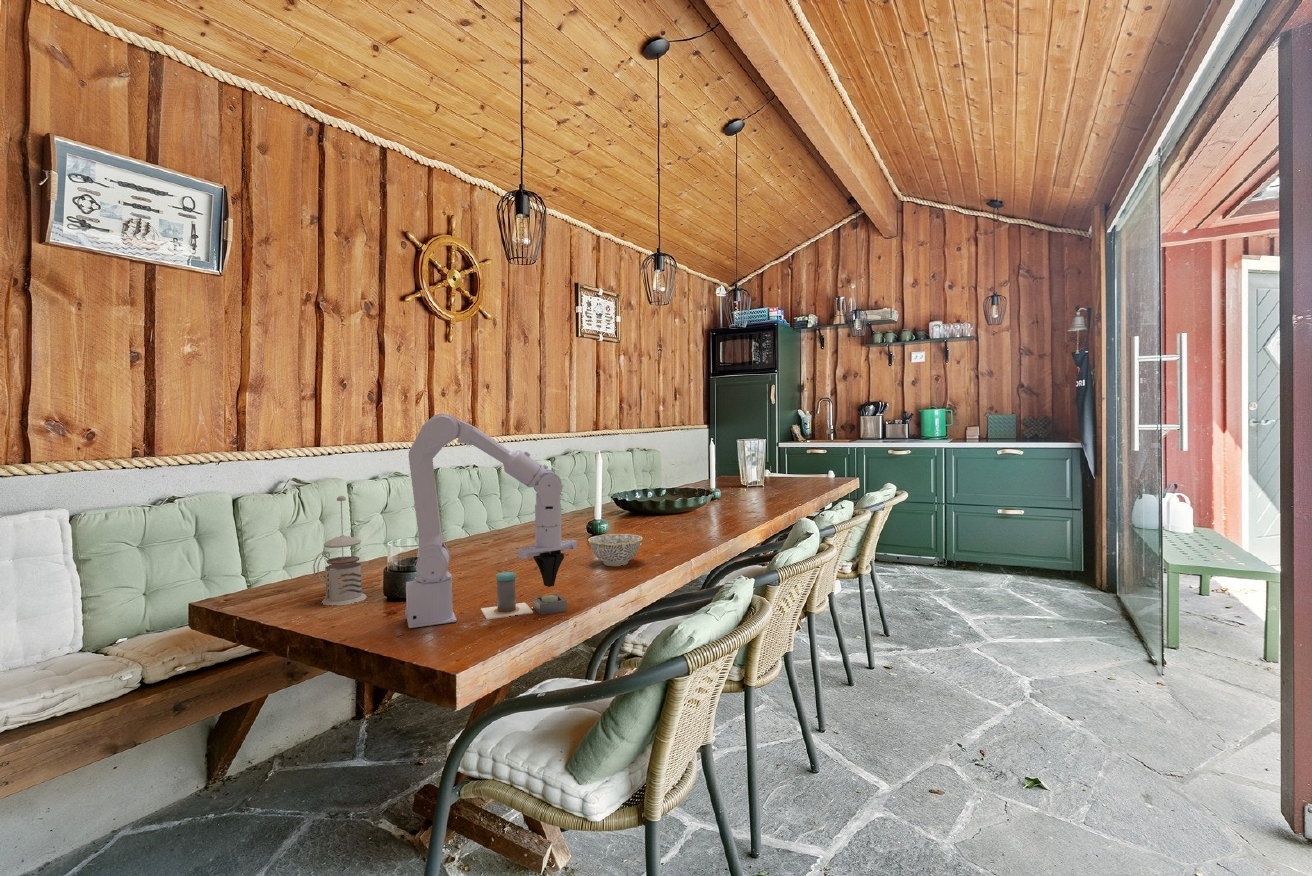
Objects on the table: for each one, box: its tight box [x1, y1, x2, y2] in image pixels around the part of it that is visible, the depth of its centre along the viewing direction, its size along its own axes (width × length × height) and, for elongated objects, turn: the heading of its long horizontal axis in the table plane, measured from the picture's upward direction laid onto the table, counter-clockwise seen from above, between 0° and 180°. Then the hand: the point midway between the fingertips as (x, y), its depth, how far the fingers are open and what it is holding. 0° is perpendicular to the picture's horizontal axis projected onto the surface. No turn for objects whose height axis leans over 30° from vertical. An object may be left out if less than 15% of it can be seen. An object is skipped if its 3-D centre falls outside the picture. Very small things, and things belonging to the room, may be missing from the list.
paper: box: [480, 602, 534, 621], centre depth 142 cm, size 10×8×1 cm
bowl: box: [587, 533, 644, 567], centre depth 187 cm, size 16×16×8 cm
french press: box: [312, 495, 367, 607], centre depth 152 cm, size 10×12×25 cm
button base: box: [532, 593, 568, 616], centre depth 143 cm, size 6×6×2 cm
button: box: [542, 594, 558, 603], centre depth 143 cm, size 4×4×2 cm
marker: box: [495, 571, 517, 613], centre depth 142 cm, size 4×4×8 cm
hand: (549, 585), depth 143 cm, fingers closed
